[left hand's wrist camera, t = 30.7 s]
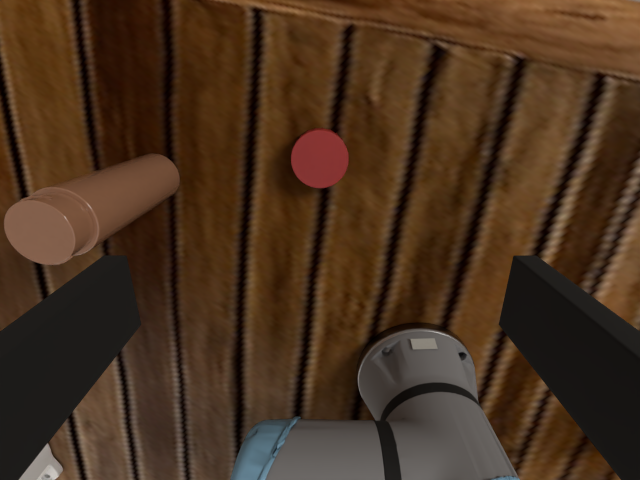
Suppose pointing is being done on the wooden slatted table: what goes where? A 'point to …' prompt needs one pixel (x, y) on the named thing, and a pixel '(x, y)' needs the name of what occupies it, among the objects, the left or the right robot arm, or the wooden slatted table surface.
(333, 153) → the lid
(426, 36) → the wooden slatted table surface
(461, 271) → the wooden slatted table surface
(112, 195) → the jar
